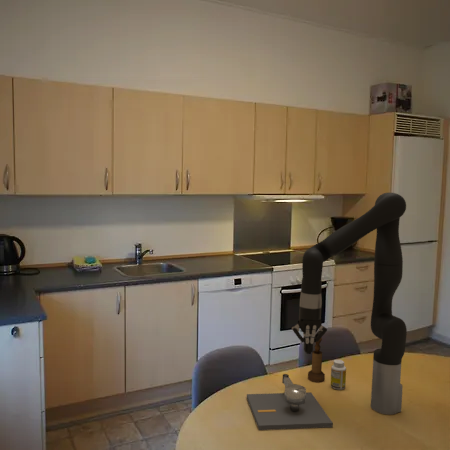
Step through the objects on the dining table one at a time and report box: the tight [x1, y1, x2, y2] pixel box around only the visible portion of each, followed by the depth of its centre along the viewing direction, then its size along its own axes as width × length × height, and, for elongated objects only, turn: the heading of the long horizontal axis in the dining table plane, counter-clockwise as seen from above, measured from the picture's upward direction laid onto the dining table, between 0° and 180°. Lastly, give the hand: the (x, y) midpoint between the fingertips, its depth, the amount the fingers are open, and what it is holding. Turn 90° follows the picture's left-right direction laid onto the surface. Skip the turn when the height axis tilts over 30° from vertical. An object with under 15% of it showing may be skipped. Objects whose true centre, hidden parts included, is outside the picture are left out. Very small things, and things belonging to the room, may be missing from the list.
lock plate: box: [246, 391, 334, 431], centre depth 153 cm, size 24×22×2 cm
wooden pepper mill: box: [307, 336, 326, 383], centre depth 181 cm, size 7×6×18 cm
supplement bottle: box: [330, 359, 347, 391], centre depth 174 cm, size 6×6×10 cm
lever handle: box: [281, 373, 307, 412], centre depth 156 cm, size 17×7×7 cm, turn 7°
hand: (308, 353), depth 160 cm, fingers closed
